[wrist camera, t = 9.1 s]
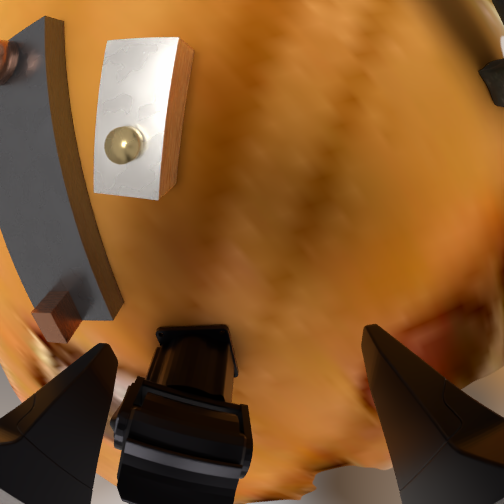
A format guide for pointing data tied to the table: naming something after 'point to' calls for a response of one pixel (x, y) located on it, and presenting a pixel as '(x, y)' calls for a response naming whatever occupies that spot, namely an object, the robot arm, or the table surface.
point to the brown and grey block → (141, 116)
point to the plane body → (48, 188)
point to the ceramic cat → (495, 68)
